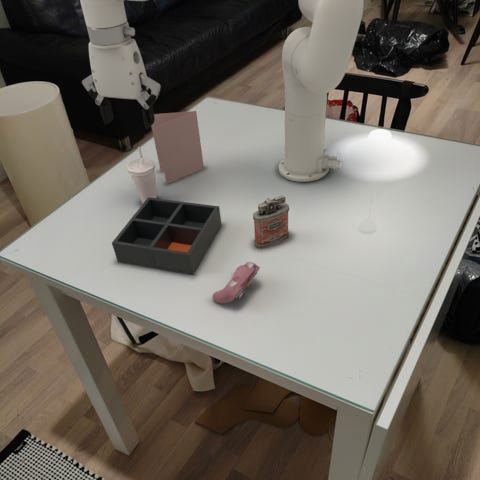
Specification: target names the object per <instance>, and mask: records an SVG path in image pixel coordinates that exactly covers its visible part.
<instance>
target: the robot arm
mask: <svg viewBox="0 0 480 480" xmlns="http://www.w3.org/2000/svg"><path fill="white" fill-rule="evenodd" d="M128 1H130V2H131V1H132V2H147V1H148V0H128ZM297 1H298V8H299V10H300V12H301V13H302V15H303V16H304V17H305V18H306V20H308V21H309V22H311V23H312V24H311V26H302V27H298V28H296V29H294V30H293V31H292V32H290V34H289V35H287V37H286V39H285V41H284V43H283V46H282V50H281V66H282V69H281V70H282V77H283V88H284V158H283V159H282V160H281V161H280V162H279V164H278V171H279V174H280V175H281V176H282V177H283V178H284V179H287V180H289V181H292V182H297V183H298V182H299V183H307V182H308V183H309V182H314V181H317V180H320V179H322V178H323V177H325V176H326V175H327V174H328V172H329V171H330V169H332V170H333V169H334V170H340V169H341V164H342V161H341V160H338V158H339V157H338V156H334V155H333V156H331V155H329V154H327V148H325V137H326V136H325V135H326V134H325V133H326V120H327V118H326V117H327V105H328V104H327V103H328V94H329V93H331V92H332V91H334V90H335V89H336V88H337V87H338V86H339V85H340V84H341V82H342V80H343V78H344V77H345V75H346V72H347V70H348V67H349V64H350V60H351V57H352V54H353V50H354V48H355V47H354V46H355V43H356V41H357V36H358V33H359V29H360V26H361V23H362V22H361V21H362V18H363V13H364V0H297ZM79 2H80V6H81V11H82V14H83V18H84V21H85V22H84V23H85V25H86V30H87V34H88V38H89V43H88V57H89V65H90V70H91V74H89V76H87V77H85V78H84V79H83V80H81V84H82V85H83V87H84V89H85V90H86V91H87V93H88V95H89V96H90V98H92V99H93V100H94V102H95V104H96V105H97V106H98V107H99V111H100V116H101V118H102V121H103V124H104V125H108V124H110V123H111V122H112V121H113V120H114V119H115V115H114V112H113V108H112V103H111V100H110V99H108V98H113V99H124V100H136V101H137V102H138V103H139V105H141V107H142V108H141V115H142V120H143V124H144V125H143V126H144V128H145V129H150V128H151V125H152V124H153V123H154V121H155V117H154V114H155V112H154V107H153V105H154V104H155V102H156V101H157V100H158V98H159V95H160V91H161V89H162V86H161V84H160V83H159V82H157V81H155V80H154V79H152V78H150V77H149V76H147V72H146V71H147V70H146V68H145V63H144V61H143V57H142V55H141V54H142V53H141V52H140V48H139V47H138V44H137V42H136V39H134V38H132V37H134V36H135V35H136V29H135V28H134V27H130V25H129V24H130V23H129V22H128V18H127V13H126V8H125V4H124V3H125V2H124V0H79ZM149 89H150V91H151V92H150V94H149V92H148V91H149Z"/></svg>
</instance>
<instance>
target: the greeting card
mask: <svg viewBox="0 0 480 480" xmlns="http://www.w3.org/2000/svg"><path fill="white" fill-rule="evenodd" d="M154 117H155V121H154V123H153V124H152V125H151V126H150V128H151V132H152V136H153V141H154V146H155V150H156V156H157V160H158V165H159V171H160V172H162V173H164V178H165V184H166V185H168V184H170V183H173V182H175V181H178V180H180V179H182V178H185V177H187V176H189V175H192V174H194V173H196V172H199V171H202V170H203V169H205V166H204V158H203V151H202V150H203V149H202V143H201V137H200V136H201V135H200V129H199V121H198V113H197V110H192V111H179V112H167V113H154Z"/></svg>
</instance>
